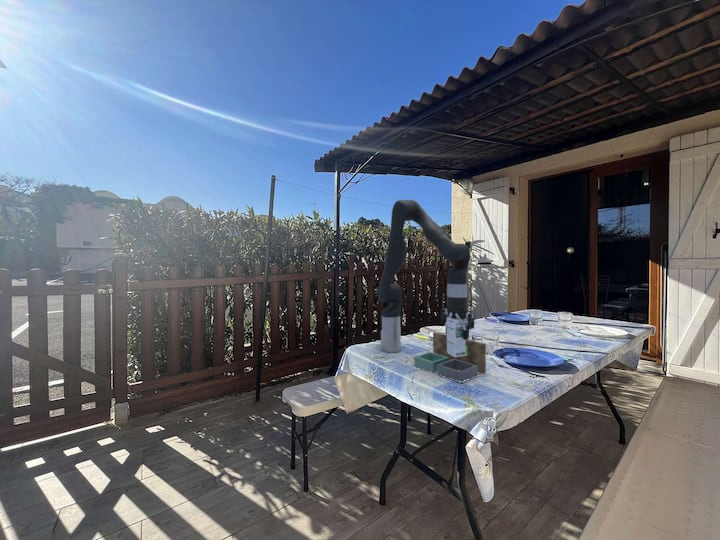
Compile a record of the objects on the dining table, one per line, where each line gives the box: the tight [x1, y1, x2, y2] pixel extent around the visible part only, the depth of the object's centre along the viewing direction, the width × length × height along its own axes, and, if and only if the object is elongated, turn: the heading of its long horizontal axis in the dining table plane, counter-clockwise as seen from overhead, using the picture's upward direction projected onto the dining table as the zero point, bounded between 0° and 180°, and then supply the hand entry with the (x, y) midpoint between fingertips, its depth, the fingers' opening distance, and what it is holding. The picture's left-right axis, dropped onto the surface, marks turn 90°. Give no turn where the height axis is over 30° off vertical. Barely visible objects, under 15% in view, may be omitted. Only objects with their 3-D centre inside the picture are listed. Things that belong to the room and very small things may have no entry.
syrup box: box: [447, 317, 468, 357], centre depth 122 cm, size 6×6×14 cm
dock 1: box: [413, 351, 448, 373], centre depth 132 cm, size 10×10×4 cm
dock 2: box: [436, 359, 479, 382], centre depth 122 cm, size 11×11×4 cm
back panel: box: [432, 331, 487, 375], centre depth 133 cm, size 25×2×12 cm, turn 37°
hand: (457, 337), depth 122 cm, fingers closed on syrup box, 7 cm apart
